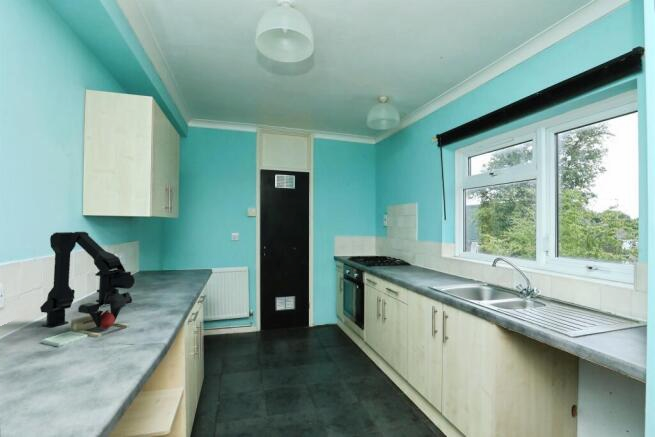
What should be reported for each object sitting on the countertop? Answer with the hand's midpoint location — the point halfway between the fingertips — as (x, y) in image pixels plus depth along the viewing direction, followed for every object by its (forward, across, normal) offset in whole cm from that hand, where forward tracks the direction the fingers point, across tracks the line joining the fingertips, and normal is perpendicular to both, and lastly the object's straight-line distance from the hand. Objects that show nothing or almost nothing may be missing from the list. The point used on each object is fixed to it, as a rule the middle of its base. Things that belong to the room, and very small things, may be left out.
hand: (106, 324), depth 127 cm
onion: (+2, 0, 0) cm, 2 cm away
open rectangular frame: (+2, 0, +3) cm, 4 cm away
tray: (+2, -13, +4) cm, 14 cm away
